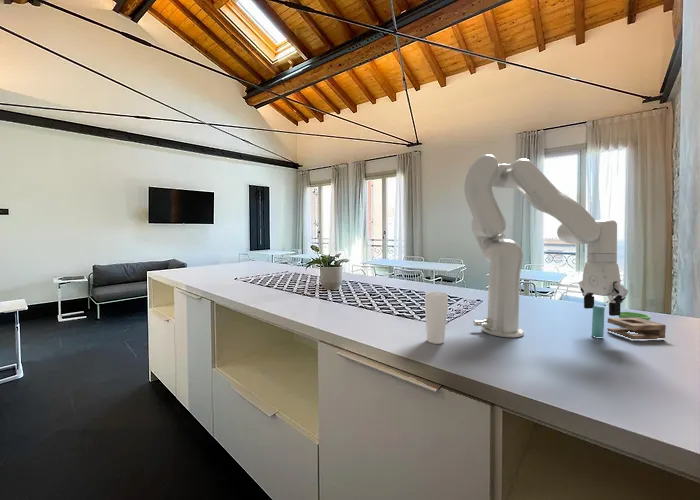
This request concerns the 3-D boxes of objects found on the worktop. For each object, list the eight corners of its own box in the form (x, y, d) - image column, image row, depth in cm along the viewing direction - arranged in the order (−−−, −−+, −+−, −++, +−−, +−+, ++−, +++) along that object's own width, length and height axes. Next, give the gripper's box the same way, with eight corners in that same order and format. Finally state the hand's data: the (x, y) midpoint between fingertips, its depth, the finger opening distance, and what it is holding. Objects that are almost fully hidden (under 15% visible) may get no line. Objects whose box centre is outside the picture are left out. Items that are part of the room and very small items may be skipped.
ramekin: (636, 323, 122) (637, 311, 121) (657, 330, 113) (657, 318, 112) (611, 322, 123) (611, 311, 122) (629, 329, 114) (630, 317, 113)
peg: (596, 338, 103) (598, 307, 102) (589, 335, 106) (590, 305, 105) (605, 338, 103) (607, 307, 103) (597, 335, 106) (599, 305, 106)
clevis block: (632, 341, 101) (632, 325, 100) (607, 332, 110) (607, 318, 109) (664, 340, 101) (665, 325, 101) (637, 332, 110) (638, 317, 110)
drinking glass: (447, 339, 102) (448, 292, 101) (446, 346, 95) (447, 296, 95) (425, 337, 104) (426, 291, 103) (423, 343, 98) (423, 294, 97)
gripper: (570, 257, 112) (570, 306, 112) (614, 261, 94) (614, 319, 95) (590, 256, 112) (590, 305, 113) (638, 260, 95) (637, 318, 96)
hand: (601, 311), depth 104 cm, fingers open, 9 cm apart
